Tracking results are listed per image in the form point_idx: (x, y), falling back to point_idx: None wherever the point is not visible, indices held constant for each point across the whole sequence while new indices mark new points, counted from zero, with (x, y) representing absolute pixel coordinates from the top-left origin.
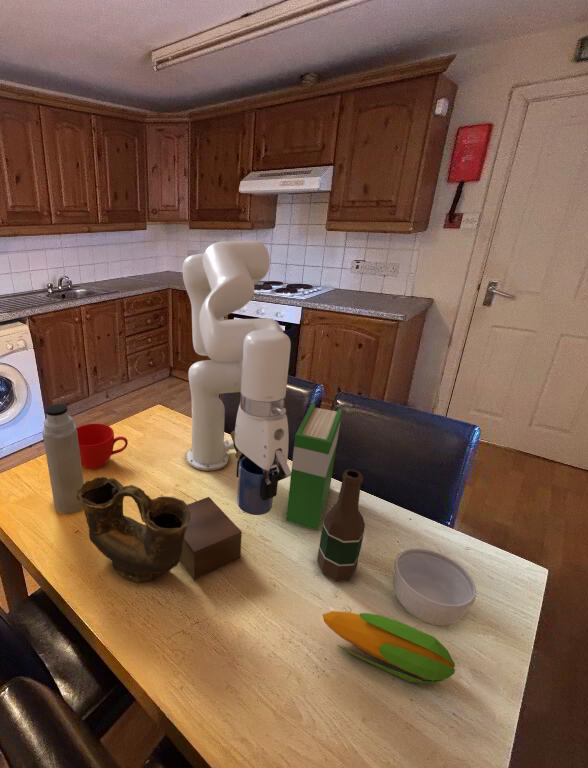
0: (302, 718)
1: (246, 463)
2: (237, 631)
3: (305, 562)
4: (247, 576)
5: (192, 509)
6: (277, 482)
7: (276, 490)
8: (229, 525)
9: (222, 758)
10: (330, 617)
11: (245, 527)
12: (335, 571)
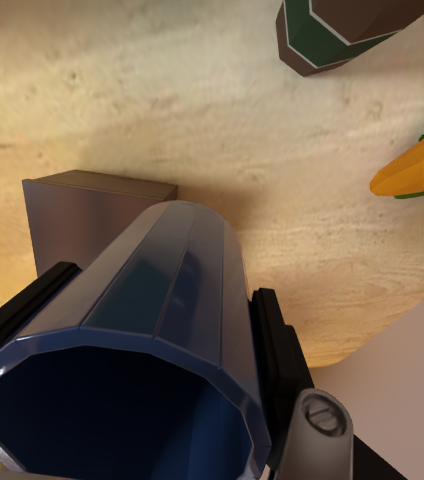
0: (387, 289)
1: (38, 379)
2: (269, 275)
3: (260, 80)
4: (213, 201)
5: (50, 239)
6: (291, 351)
7: (298, 343)
8: (132, 208)
9: (342, 359)
10: (390, 191)
11: (116, 113)
12: (339, 65)
